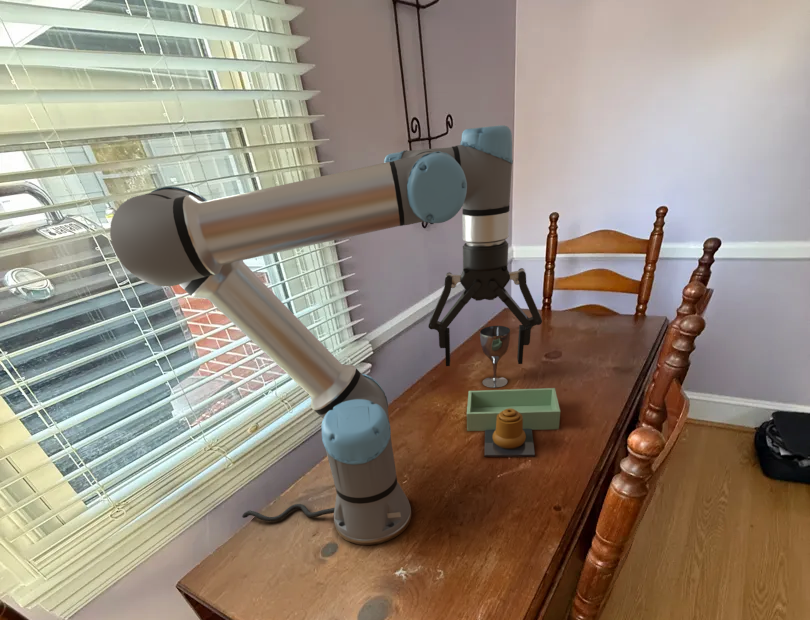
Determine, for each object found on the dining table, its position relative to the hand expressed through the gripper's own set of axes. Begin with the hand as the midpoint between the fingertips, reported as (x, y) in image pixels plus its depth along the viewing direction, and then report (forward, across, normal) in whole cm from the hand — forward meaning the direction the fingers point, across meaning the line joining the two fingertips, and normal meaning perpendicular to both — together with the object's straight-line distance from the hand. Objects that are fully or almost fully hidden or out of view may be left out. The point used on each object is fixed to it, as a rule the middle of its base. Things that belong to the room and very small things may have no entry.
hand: (483, 362), depth 91 cm
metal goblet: (+24, -4, -40) cm, 47 cm away
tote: (+23, -8, -20) cm, 31 cm away
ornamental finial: (+23, -6, -8) cm, 25 cm away
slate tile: (+23, -6, -8) cm, 25 cm away
